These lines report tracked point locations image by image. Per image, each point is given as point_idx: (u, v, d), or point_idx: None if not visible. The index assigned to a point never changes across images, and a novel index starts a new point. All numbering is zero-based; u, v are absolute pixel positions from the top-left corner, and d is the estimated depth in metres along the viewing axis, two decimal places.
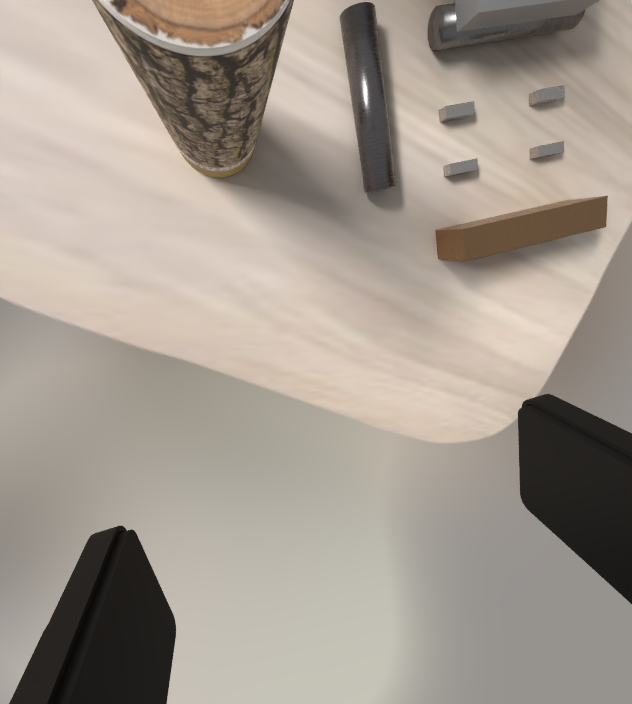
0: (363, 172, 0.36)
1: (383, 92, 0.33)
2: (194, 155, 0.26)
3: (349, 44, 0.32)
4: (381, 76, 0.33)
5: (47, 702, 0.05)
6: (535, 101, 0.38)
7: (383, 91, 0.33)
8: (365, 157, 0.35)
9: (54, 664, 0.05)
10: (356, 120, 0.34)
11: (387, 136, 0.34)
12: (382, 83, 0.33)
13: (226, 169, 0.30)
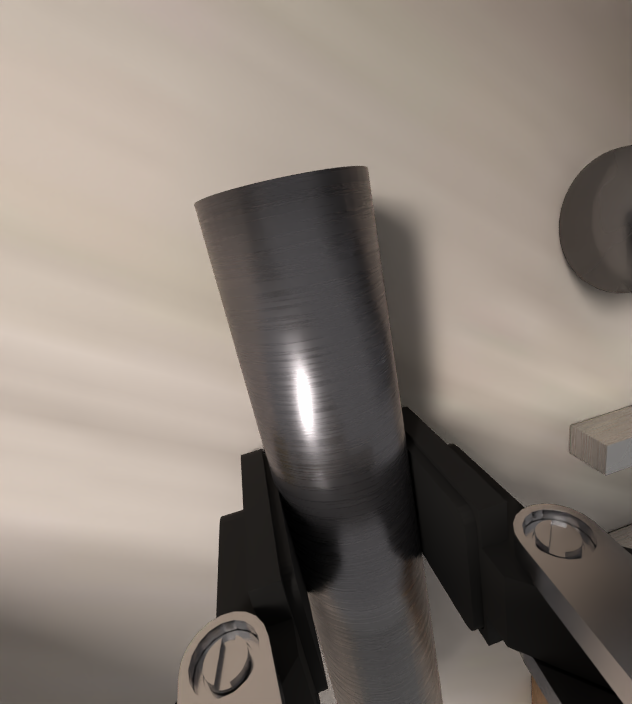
0: (331, 680, 0.10)
1: (407, 502, 0.08)
2: None
3: (246, 346, 0.06)
4: (399, 455, 0.07)
5: (275, 543, 0.06)
6: None
7: (407, 497, 0.08)
8: (337, 676, 0.09)
9: (265, 525, 0.07)
10: None
11: (420, 626, 0.09)
12: (403, 473, 0.08)
13: None
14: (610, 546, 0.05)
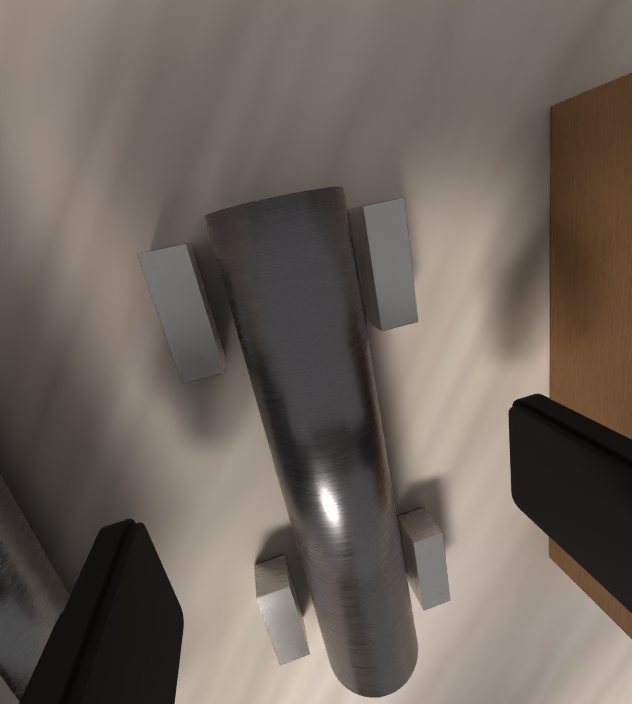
0: (321, 629, 0.12)
1: (381, 459, 0.09)
2: None
3: (250, 330, 0.08)
4: (374, 419, 0.09)
5: (66, 685, 0.05)
6: None
7: (381, 455, 0.09)
8: (326, 620, 0.11)
9: (70, 650, 0.05)
10: (292, 523, 0.10)
11: (396, 568, 0.10)
12: (378, 435, 0.09)
13: None
14: None
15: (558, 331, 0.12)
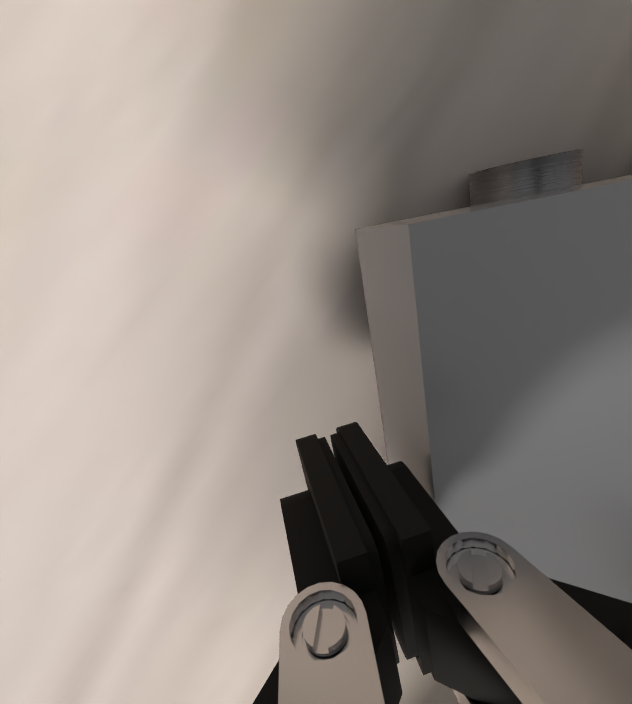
0: None
1: None
2: None
3: None
4: None
5: (353, 519, 0.06)
6: None
7: None
8: None
9: (338, 503, 0.07)
10: None
11: None
12: None
13: None
14: (528, 571, 0.05)
15: None
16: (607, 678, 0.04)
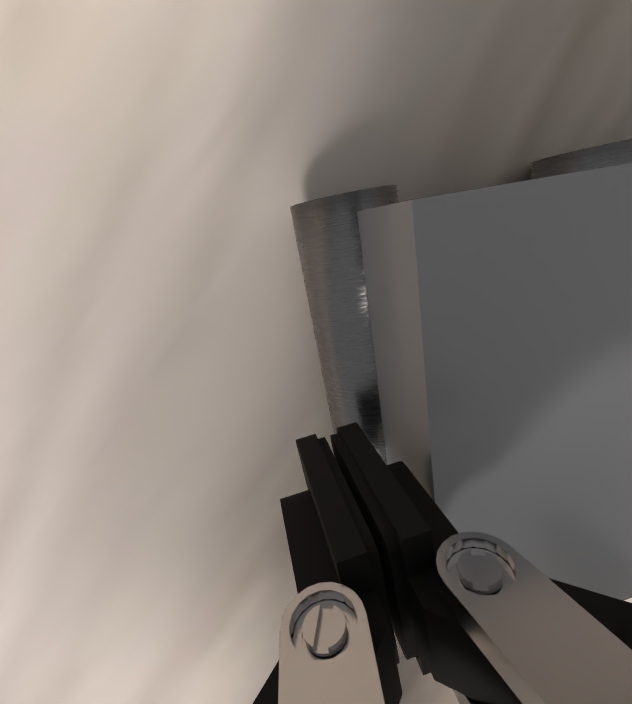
0: None
1: None
2: None
3: None
4: None
5: (352, 519, 0.06)
6: None
7: None
8: None
9: (338, 503, 0.07)
10: None
11: None
12: None
13: None
14: (528, 571, 0.05)
15: None
16: (607, 677, 0.04)
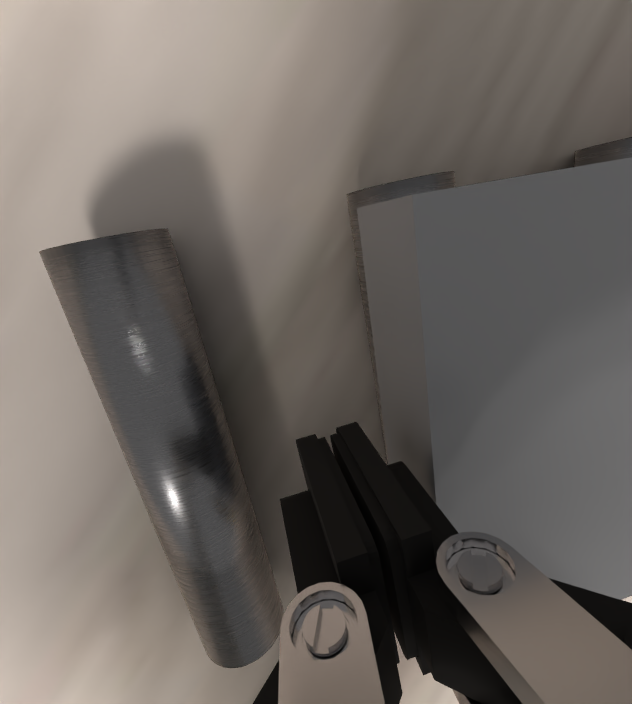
0: None
1: None
2: None
3: None
4: None
5: (353, 519, 0.06)
6: None
7: None
8: None
9: (338, 503, 0.07)
10: None
11: None
12: None
13: None
14: (528, 571, 0.05)
15: None
16: (607, 678, 0.04)
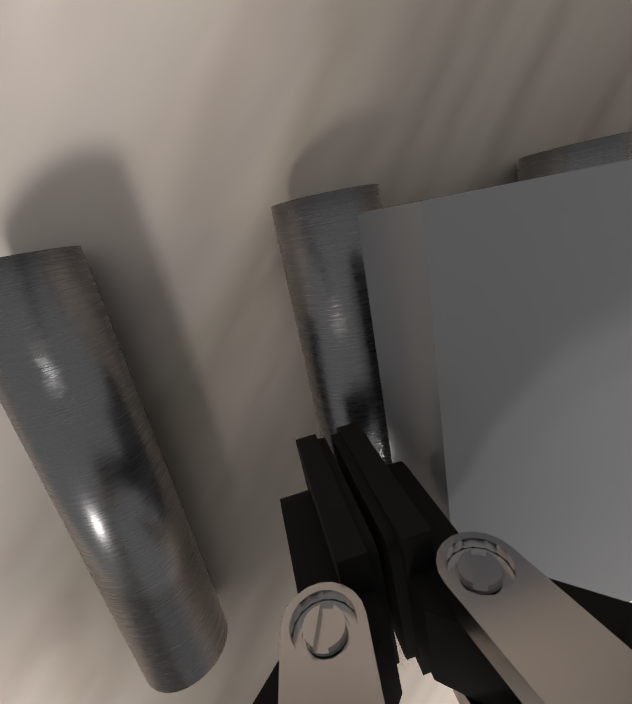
0: None
1: None
2: None
3: None
4: None
5: (353, 519, 0.06)
6: None
7: None
8: None
9: (338, 503, 0.07)
10: None
11: None
12: None
13: None
14: (528, 571, 0.05)
15: None
16: (607, 678, 0.04)
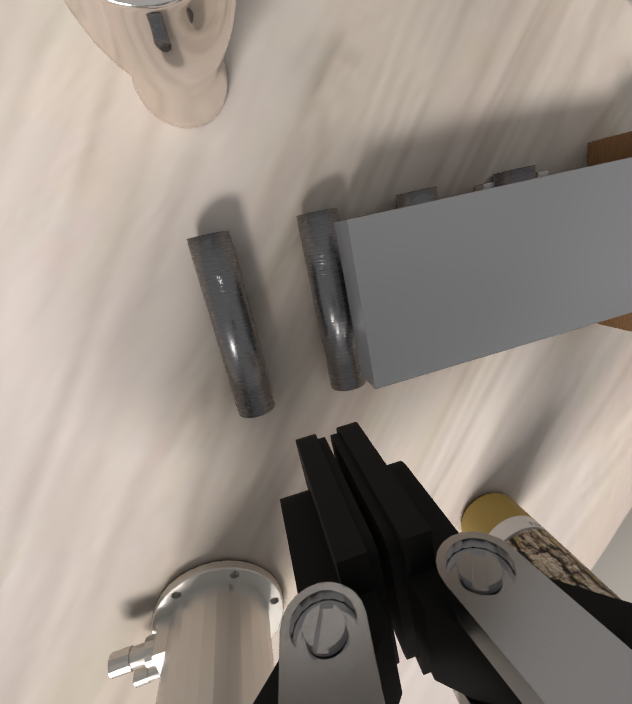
0: None
1: None
2: None
3: None
4: None
5: (353, 519, 0.06)
6: None
7: None
8: None
9: (338, 503, 0.07)
10: None
11: None
12: None
13: None
14: (528, 571, 0.05)
15: None
16: (607, 678, 0.04)
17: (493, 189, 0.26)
